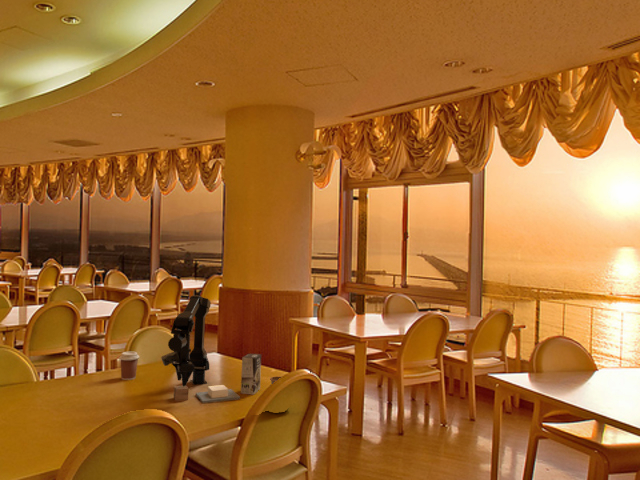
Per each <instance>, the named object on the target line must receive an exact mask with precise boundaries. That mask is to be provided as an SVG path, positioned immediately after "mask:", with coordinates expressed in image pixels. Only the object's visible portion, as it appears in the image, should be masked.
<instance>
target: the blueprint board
mask: <svg viewBox="0 0 640 480" xmlns="http://www.w3.org/2000/svg"><path fill="white" fill-rule="evenodd" d="M195 396H196V397H197V398H198V399H199V400H200V402H201V403H202V404H209V403H216V402H217V403H218V402H227V401H235V400H240V399H241V396H240V395H239V394H237V393H236V392H235V391H234V390H233V389H232V388H228V387H226V386H225V385H224V384H220V385H212V386H211V385H209V386H207V391H201V392H200V391H199V392H195Z"/></svg>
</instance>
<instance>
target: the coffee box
mask: <svg viewBox="0 0 640 480" xmlns="http://www.w3.org/2000/svg"><path fill="white" fill-rule="evenodd" d="M241 361H242V362H241V375H240V376H241V379H240V394H244V395H253V396H254V395H255V394H257V392H259V391H260V390H261V373H262V371H261V369H262V353H261V354H260V353H248V354H246V355H244V356H242V358H241ZM258 390H259V391H258Z"/></svg>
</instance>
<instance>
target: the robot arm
mask: <svg viewBox="0 0 640 480" xmlns="http://www.w3.org/2000/svg"><path fill="white" fill-rule="evenodd" d="M211 305H212V303H211V300H210V299H209V298H207V297H203V296H201V295H190V297H189V301H188V303H187V305H186V306H185V308H184V309H183V312H180V313H178V314H177V315H176V317H175V318H174V320H173V323H172V327H171V330H170V334H171V335H172V337H171V338H170V339H169V340H168V344H167V345H168V348H169V350H171V351H172V352H169V353H167V354H164V355H162V356H161V357H160V358H161V361H162V364H163V366H165V367H166V366H169V365H170V364H171V365H172V366H173V367H174V368H175V373H176V378H177V381H181V383H182V385H183V386H187V384H188V381H190V382H191V384H192V385H200V384H207V383H208V381H207V380H206V378H205V377H206V371H209V370H210V362H209V358H208V353H207V351H206V349H205V333H206V332H205V331H206V328H205V327H206V316H207V315H208V314H209V312H210V308H211ZM193 330H194V336H193V349H191V334H192V332H193ZM191 376H192V377H191ZM190 378H192V379H190ZM182 385H181V386H182Z"/></svg>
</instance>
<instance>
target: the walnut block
mask: <svg viewBox="0 0 640 480" xmlns="http://www.w3.org/2000/svg"><path fill="white" fill-rule="evenodd" d="M189 391H190V390H189V387H188V386H187V385H186V386H183V385H174V386H173V399H174V400H175V402H182V401H189Z"/></svg>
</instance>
